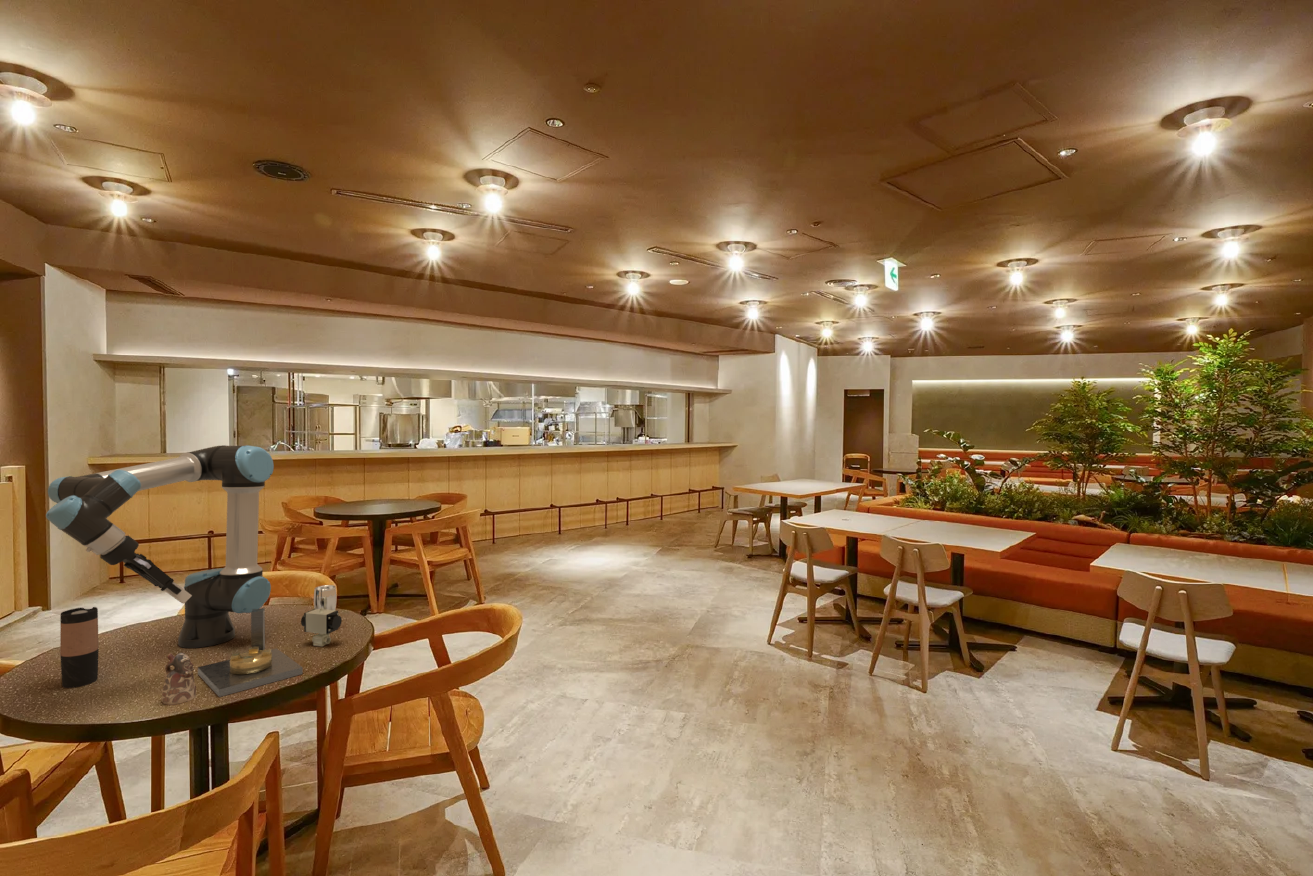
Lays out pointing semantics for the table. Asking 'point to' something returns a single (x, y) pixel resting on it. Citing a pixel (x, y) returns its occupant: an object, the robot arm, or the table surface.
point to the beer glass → (325, 597)
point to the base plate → (230, 683)
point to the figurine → (179, 680)
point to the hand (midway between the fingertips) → (186, 599)
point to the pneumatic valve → (321, 624)
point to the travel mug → (79, 646)
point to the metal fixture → (253, 648)
